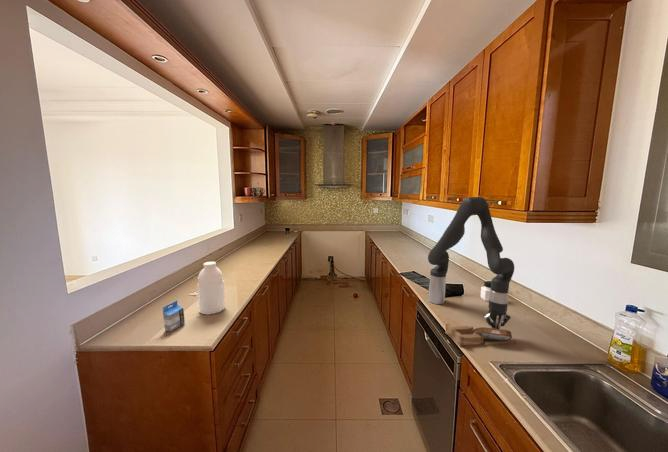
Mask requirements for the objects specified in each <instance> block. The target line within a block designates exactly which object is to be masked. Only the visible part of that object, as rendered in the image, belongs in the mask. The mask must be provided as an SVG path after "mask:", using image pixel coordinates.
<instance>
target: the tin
mask: <svg viewBox="0 0 668 452" xmlns="http://www.w3.org/2000/svg"><path fill="white" fill-rule="evenodd" d="M474 329H475V330H474V331H475V332H474V334H481V335H484V339H487V340H494V341H495V340H496V341H507V340H510V339H511V340H513V335H512V332H511V330H508V329H501V328H500V329H495V328H492V327H481V326H480V327H476V328H474Z"/></svg>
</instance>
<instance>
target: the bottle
mask: <svg viewBox="0 0 668 452" xmlns="http://www.w3.org/2000/svg"><path fill="white" fill-rule="evenodd" d="M202 266H203V268H202V269H201V270H200V271H199V273H198V276H197V280H198V283H197V286H196V287H197V295H198V311H199V313H200V314H201V315H213V314H218V313H220V312H222V311H223V310H225V308H226V299H225V298H226V296H225V294H226V293H225V280H224V279H223V276H224V274H223V272H222V271H221V269H220V268H219V267H218V266H217V262H216V261H206V262H204V263H203V264H202Z"/></svg>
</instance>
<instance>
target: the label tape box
mask: <svg viewBox="0 0 668 452" xmlns="http://www.w3.org/2000/svg"><path fill="white" fill-rule="evenodd" d="M162 314H163V315H162V316H163V323H164V331H165V332H173V331H174V330H176V329H177V328H179V327H181V326H182V325H184V324H185V323H186V321H185V320H186V319H185V312H184V308H183V306H180V305H179V304H178V300H175V301H173V302H171V303H168V304H166V305H164V306H163V307H162Z"/></svg>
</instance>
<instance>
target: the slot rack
mask: <svg viewBox="0 0 668 452" xmlns="http://www.w3.org/2000/svg"><path fill="white" fill-rule="evenodd" d="M475 329H476V328H474V326H473V325H472V326H469V325H459V326H458V325H457V326H452V325H451V324H450V323H446V324H445V334H446V335H448V337H449V338H450V339H451V340H452V341H453V342H454V343H456V345H458V346H459V348H463V347H464V346H468V345H469V346H471V345H472V346H473V345H481V344H483V345H484V346H489V345H490V346H491V345H502V344H514V343H516V340H515V339H510V340H507V341H502V340H496V341H495V340H494V341H485V342H484V339H485V338H484V335H481V334H475V331H474V330H475Z"/></svg>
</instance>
